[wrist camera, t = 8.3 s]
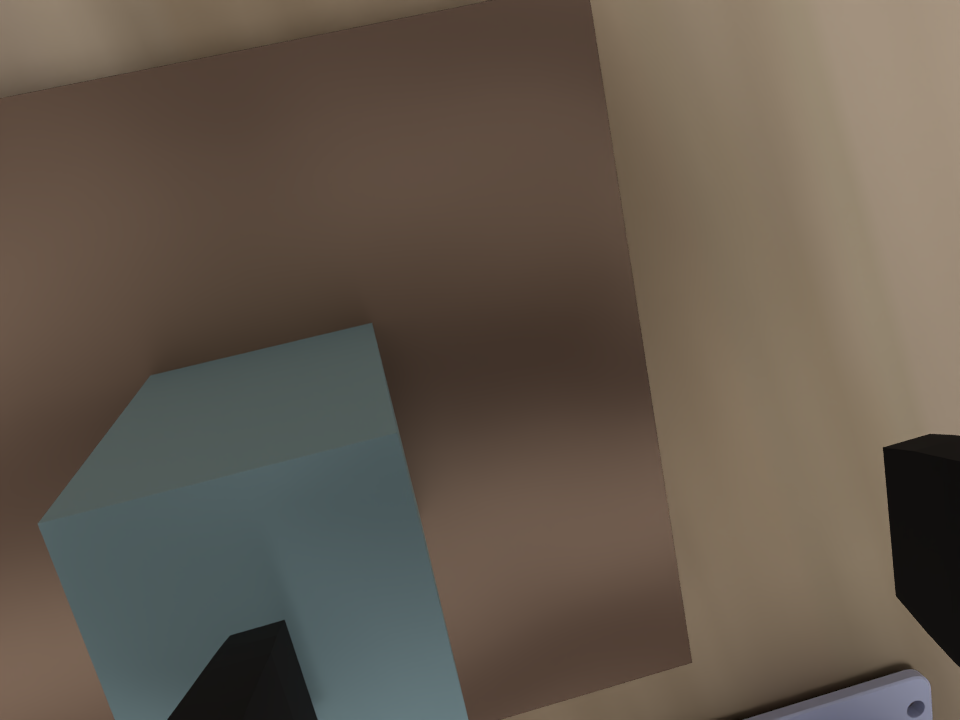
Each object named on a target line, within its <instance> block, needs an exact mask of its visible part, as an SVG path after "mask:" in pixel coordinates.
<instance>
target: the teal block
mask: <svg viewBox="0 0 960 720" xmlns="http://www.w3.org/2000/svg"><path fill="white" fill-rule="evenodd" d="M38 526H39V529H40V531H41V534H42V536H43V539H44V541H45V544H46V547H47V549H48V552H49V554H50V557H51V559H52V562H53V564H54V567H55V569H56V572H57V574H58V577H59V579H60V582H61V585H62V587H63V590H64V592H65V595H66V597H67V600H68V602H69V605H70V607H71V610H72V612H73V615H74V618H75V620H76V623H77V625H78V628H79V630H80V633H81V635H82V638H83V640H84V643H85V645H86V648H87V651H88V653H89V656H90V658H91V661H92V663H93V666H94V668H95V671H96V673H97V676H98V678H99V681H100V683H101V686H102V689H103V691H104V694H105V696H106V699H107V701H108V704H109V706H110V709H111V711H112V714H113V716H114V719H115V720H167V719H168V718H169V716H170V715H171V714H172V712H173V711H174V710H175V708H176V707H177V706H178V704H179V703H180V701H181V700H182V699H183V697H184V696H185V695H186V693H187V692H188V690H189V689H190V688H191V686H192V685H193V684H194V682H195V681H196V679H197V678H198V677H199V675H200V674H201V672H202V671H203V670H204V668H205V667H206V666H207V664H208V663H209V662H210V660H211V659H212V657H213V656H214V655H215V653H216V652H217V651H218V650H219V648H220V647H221V646H222V644H223V643H224V642H225V641H226V640H227V638H228V637H229V636H230V635H233V634H237V633H240V632H244V631H247V630H250V629H254V628H257V627H261V626H264V625H268V624H271V623H275V622H278V621H282V620H285V622H286V625H287V628H288V631H289V634H290V637H291V640H292V643H293V646H294V649H295V652H296V655H297V658H298V661H299V664H300V667H301V670H302V674H303V677H304V680H305V683H306V686H307V689H308V692H309V695H310V698H311V701H312V704H313V707H314V710H315V713H316V716H317V719H318V720H468V716H467V711H466V707H465V703H464V699H463V695H462V690H461V686H460V682H459V678H458V674H457V669H456V665H455V661H454V657H453V653H452V649H451V644H450V640H449V636H448V632H447V628H446V623H445V619H444V615H443V611H442V607H441V602H440V598H439V594H438V590H437V586H436V581H435V577H434V573H433V569H432V565H431V560H430V556H429V552H428V548H427V544H426V539H425V535H424V531H423V527H422V523H421V518H420V514H419V510H418V506H417V502H416V498H415V494H414V490H413V486H412V482H411V478H410V474H409V470H408V466H407V462H406V458H405V454H404V450H403V446H402V442H401V438H400V434H399V430H398V426H397V421H396V417H395V413H394V409H393V405H392V401H391V397H390V393H389V389H388V385H387V381H386V377H385V373H384V369H383V365H382V361H381V357H380V353H379V349H378V345H377V341H376V337H375V333H374V329H373V325H372V323H369V324H365V325H360V326H356V327H352V328H348V329H344V330H339V331H335V332H331V333H327V334H323V335H318V336H314V337H310V338H306V339H302V340H297V341H293V342H289V343H285V344H281V345H276V346H272V347H268V348H264V349H260V350H255V351H251V352H247V353H243V354H239V355H234V356H230V357H226V358H222V359H218V360H213V361H209V362H205V363H201V364H197V365H192V366H188V367H184V368H180V369H175V370H171V371H167V372H163V373H159V374H154V375H150V377H149V378H148V379H147V381H146V382H145V383H144V385H143V386H142V387H141V389H140V390H139V391H138V392H137V394H136V395H135V396H134V398H133V399H132V400H131V402H130V403H129V404H128V406H127V407H126V408H125V410H124V411H123V412H122V414H121V415H120V416H119V417H118V419H117V420H116V421H115V423H114V424H113V425H112V427H111V428H110V429H109V431H108V432H107V433H106V435H105V436H104V437H103V438H102V440H101V441H100V442H99V444H98V445H97V446H96V448H95V449H94V450H93V452H92V453H91V454H90V456H89V457H88V458H87V460H86V461H85V462H84V463H83V465H82V466H81V467H80V469H79V470H78V471H77V473H76V474H75V475H74V477H73V478H72V479H71V481H70V482H69V483H68V485H67V486H66V487H65V488H64V490H63V491H62V492H61V494H60V495H59V496H58V498H57V499H56V500H55V502H54V503H53V504H52V506H51V507H50V508H49V509H48V511H47V512H46V513H45V515H44V516H43V517H42V519H41V520H40V521H39V523H38Z"/></svg>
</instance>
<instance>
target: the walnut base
mask: <svg viewBox="0 0 960 720" xmlns="http://www.w3.org/2000/svg"><path fill="white" fill-rule="evenodd" d="M369 323H372V325H373V329H374V333H375V337H376V341H377V345H378V349H379V353H380V357H381V361H382V365H383V369H384V373H385V377H386V381H387V385H388V389H389V393H390V397H391V401H392V405H393V409H394V413H395V417H396V421H397V426H398V430H399V434H400V438H401V442H402V446H403V450H404V454H405V458H406V462H407V466H408V470H409V474H410V478H411V482H412V486H413V490H414V494H415V498H416V502H417V506H418V510H419V514H420V518H421V523H422V527H423V531H424V535H425V539H426V544H427V548H428V552H429V556H430V560H431V565H432V569H433V573H434V577H435V581H436V586H437V590H438V594H439V598H440V602H441V607H442V611H443V615H444V619H445V623H446V628H447V632H448V636H449V640H450V644H451V649H452V653H453V657H454V661H455V665H456V669H457V674H458V678H459V682H460V686H461V690H462V695H463V699H464V703H465V707H466V711H467V716H468V720H501V719H504V718H507V717H511V716H514V715H518V714H521V713H524V712H528V711H531V710H534V709H538V708H541V707H544V706H548V705H551V704H555V703H558V702H561V701H565V700H568V699H571V698H575V697H578V696H581V695H585V694H588V693H592V692H595V691H598V690H602V689H605V688H608V687H612V686H615V685H618V684H622V683H625V682H628V681H632V680H635V679H639V678H642V677H645V676H649V675H652V674H655V673H659V672H662V671H665V670H669V669H672V668H676V667H679V666H682V665H686V664H689V663H692V659H691V652H690V646H689V639H688V633H687V626H686V620H685V613H684V607H683V600H682V594H681V587H680V581H679V574H678V568H677V561H676V555H675V548H674V542H673V535H672V529H671V523H670V516H669V510H668V503H667V497H666V490H665V484H664V477H663V471H662V464H661V458H660V451H659V445H658V438H657V432H656V425H655V419H654V412H653V406H652V399H651V393H650V386H649V380H648V373H647V367H646V360H645V354H644V347H643V341H642V334H641V328H640V321H639V315H638V308H637V302H636V295H635V289H634V282H633V276H632V269H631V263H630V256H629V250H628V244H627V237H626V231H625V224H624V218H623V211H622V205H621V198H620V192H619V185H618V179H617V172H616V166H615V159H614V153H613V146H612V140H611V133H610V127H609V120H608V114H607V107H606V101H605V94H604V88H603V81H602V75H601V68H600V62H599V55H598V49H597V42H596V36H595V29H594V23H593V16H592V10H591V3H590V0H491V1H486V2H481V3H476V4H471V5H466V6H461V7H456V8H451V9H446V10H441V11H436V12H431V13H426V14H421V15H416V16H411V17H406V18H401V19H396V20H391V21H386V22H381V23H376V24H371V25H366V26H361V27H356V28H351V29H346V30H341V31H336V32H331V33H326V34H321V35H316V36H311V37H306V38H301V39H296V40H291V41H286V42H281V43H276V44H271V45H266V46H261V47H256V48H251V49H245V50H240V51H235V52H230V53H225V54H220V55H215V56H210V57H205V58H200V59H195V60H190V61H185V62H180V63H175V64H170V65H165V66H160V67H155V68H150V69H145V70H140V71H135V72H130V73H125V74H120V75H115V76H110V77H105V78H100V79H95V80H90V81H85V82H80V83H75V84H70V85H65V86H60V87H55V88H50V89H45V90H40V91H35V92H30V93H25V94H20V95H15V96H10V97H5V98H0V720H115V719H114V716H113V714H112V711H111V709H110V706H109V704H108V701H107V699H106V696H105V694H104V691H103V689H102V686H101V683H100V681H99V678H98V676H97V673H96V671H95V668H94V666H93V663H92V661H91V658H90V656H89V653H88V651H87V648H86V645H85V643H84V640H83V638H82V635H81V633H80V630H79V628H78V625H77V623H76V620H75V618H74V615H73V612H72V610H71V607H70V605H69V602H68V600H67V597H66V595H65V592H64V590H63V587H62V585H61V582H60V579H59V577H58V574H57V572H56V569H55V567H54V564H53V562H52V559H51V557H50V554H49V552H48V549H47V547H46V544H45V541H44V539H43V536H42V534H41V531H40V529H39V526H38V523H39V521H40V520H41V519H42V517H43V516H44V515H45V513H46V512H47V511H48V509H49V508H50V507H51V506H52V504H53V503H54V502H55V500H56V499H57V498H58V496H59V495H60V494H61V492H62V491H63V490H64V488H65V487H66V486H67V485H68V483H69V482H70V481H71V479H72V478H73V477H74V475H75V474H76V473H77V471H78V470H79V469H80V467H81V466H82V465H83V463H84V462H85V461H86V460H87V458H88V457H89V456H90V454H91V453H92V452H93V450H94V449H95V448H96V446H97V445H98V444H99V442H100V441H101V440H102V438H103V437H104V436H105V435H106V433H107V432H108V431H109V429H110V428H111V427H112V425H113V424H114V423H115V421H116V420H117V419H118V417H119V416H120V415H121V414H122V412H123V411H124V410H125V408H126V407H127V406H128V404H129V403H130V402H131V400H132V399H133V398H134V396H135V395H136V394H137V392H138V391H139V390H140V389H141V387H142V386H143V385H144V383H145V382H146V381H147V379H148V378H149V377H150V375H154V374H159V373H163V372H167V371H171V370H175V369H180V368H184V367H188V366H192V365H197V364H201V363H205V362H209V361H213V360H218V359H222V358H226V357H230V356H234V355H239V354H243V353H247V352H251V351H255V350H260V349H264V348H268V347H272V346H276V345H281V344H285V343H289V342H293V341H297V340H302V339H306V338H310V337H314V336H318V335H323V334H327V333H331V332H335V331H339V330H344V329H348V328H352V327H356V326H360V325H365V324H369Z"/></svg>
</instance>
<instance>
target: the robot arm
mask: <svg viewBox="0 0 960 720" xmlns="http://www.w3.org/2000/svg"><path fill="white" fill-rule="evenodd" d="M883 453H884V465H885V476H886V488H887V499H888V511H889V522H890V534H891V545H892V557H893V568H894V579H895V591H896V597H897V598H898V599H899V600H900V601H901V602H902V604H903V605H904V606H905V607H906V608H907V610H908V611H909V612H910V613H911V614H912V615H913V617H914V618H915V619H916V620H917V621H918V622H919V624H920V625H921V626H922V627H923V628H924V629H925V631H926V632H927V633H928V634H929V635H930V636H931V637H932V638H933V639H934V641H935V642H936V643H937V644H938V645H939V646H940V647H941V648H942V649H943V650H944V651H945V652H946V654H947V655H948V656H949V657H950V658H951V659H952V660H953V661H954V662H955V663H956V664H957V665H958V666H959V667H960V436H957V435H941V434H928V435H925V436H921V437H918V438H914V439H911V440H907V441H904V442H901V443H897V444H894V445H890V446H887V447H883ZM912 702H913V703H912ZM911 703H912V705H911V706H909V705H910V704H911ZM908 706H909V707H908ZM167 720H318V719H317V716H316V713H315V710H314V707H313V704H312V701H311V698H310V695H309V692H308V689H307V686H306V683H305V680H304V677H303V674H302V670H301V667H300V664H299V661H298V658H297V655H296V652H295V649H294V646H293V643H292V640H291V637H290V634H289V631H288V628H287V625H286V622H285V620H282V621H278V622H275V623H271V624H268V625H264V626H261V627H257V628H254V629H250V630H247V631H244V632H240V633H237V634H233V635H230V636H229V637H228V638H227V640H226V641H225V642H224V643H223V644H222V646H221V647H220V648H219V650H218V651H217V652H216V653H215V655H214V656H213V657H212V659H211V660H210V662H209V663H208V664H207V666H206V667H205V668H204V670H203V671H202V672H201V674H200V675H199V677H198V678H197V679H196V681H195V682H194V684H193V685H192V686H191V688H190V689H189V690H188V692H187V693H186V695H185V696H184V697H183V699H182V700H181V701H180V703H179V704H178V706H177V707H176V708H175V710H174V711H173V712H172V714H171V715H170V716H169V718H168V719H167ZM744 720H933V717H932V699H931V686H930V683H929V681H928V680H927V679H926V678H925V677H924V676H923V675H922V674H921V673H919V672H918V671H917V670H913V669H908V670H903V671H900V672H897V673H893V674H890V675H887V676H884V677H880V678H877V679H874V680H871V681H867V682H864V683H861V684H858V685H854V686H851V687H848V688H845V689H841V690H838V691H835V692H832V693H828V694H825V695H822V696H819V697H815V698H812V699H809V700H806V701H802V702H799V703H796V704H793V705H789V706H786V707H783V708H780V709H776V710H773V711H770V712H767V713H763V714H760V715H757V716H754V717H750V718H747V719H744Z"/></svg>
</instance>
